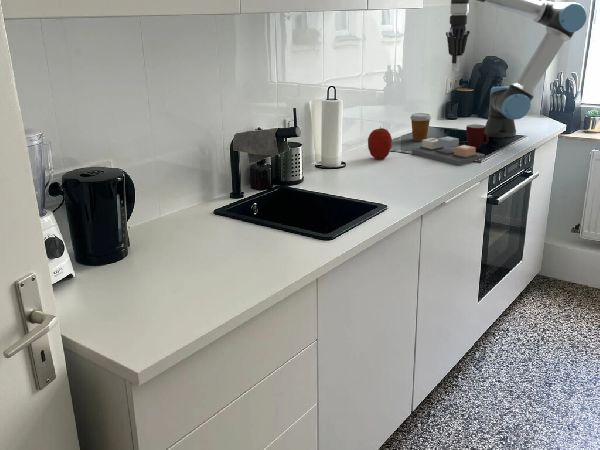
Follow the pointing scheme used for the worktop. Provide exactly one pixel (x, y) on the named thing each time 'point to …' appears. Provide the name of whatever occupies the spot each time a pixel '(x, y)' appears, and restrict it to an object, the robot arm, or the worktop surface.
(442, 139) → the key slate
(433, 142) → the key cream
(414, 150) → the keypad base
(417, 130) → the disposable coffee cup
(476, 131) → the mug
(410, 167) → the worktop surface
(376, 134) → the apple
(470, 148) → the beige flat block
